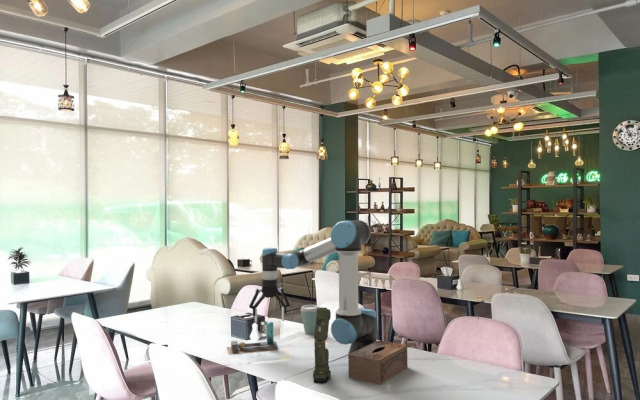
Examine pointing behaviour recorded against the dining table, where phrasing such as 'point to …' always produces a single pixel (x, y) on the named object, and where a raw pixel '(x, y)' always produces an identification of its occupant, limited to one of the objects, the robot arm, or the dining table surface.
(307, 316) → the disposable coffee cup
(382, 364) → the tissue box cover
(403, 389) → the dining table surface
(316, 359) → the mechanical leg
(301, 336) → the dining table surface
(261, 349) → the press base
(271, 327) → the ram
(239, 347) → the walnut
